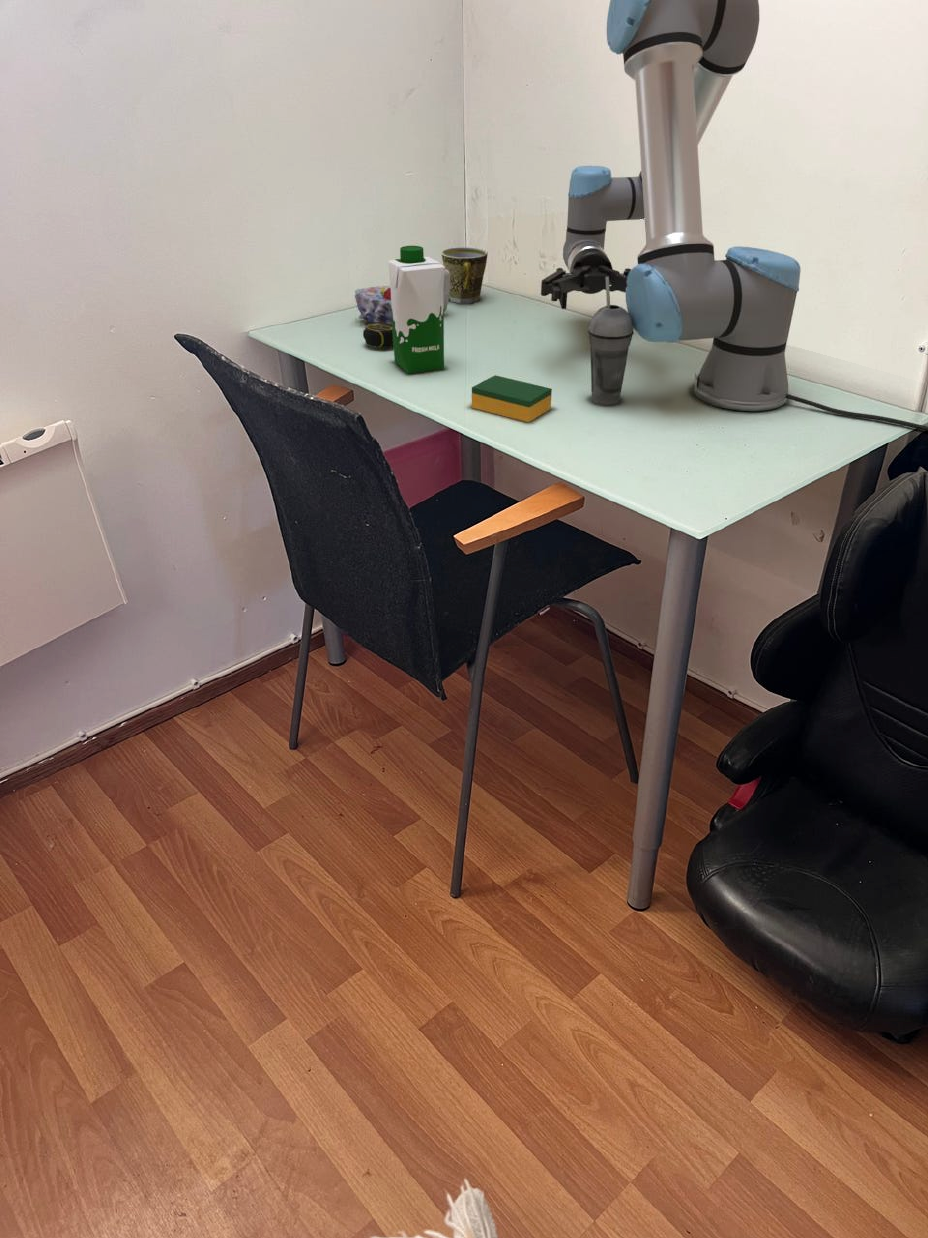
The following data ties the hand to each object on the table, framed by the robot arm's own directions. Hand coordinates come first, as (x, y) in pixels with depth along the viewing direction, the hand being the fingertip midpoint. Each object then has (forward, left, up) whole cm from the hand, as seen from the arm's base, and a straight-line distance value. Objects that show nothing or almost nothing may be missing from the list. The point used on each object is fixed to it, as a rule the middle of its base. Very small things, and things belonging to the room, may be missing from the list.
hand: (605, 300), depth 154 cm
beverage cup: (-4, +9, -14) cm, 17 cm away
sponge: (+9, +19, -14) cm, 25 cm away
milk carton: (+32, +7, -14) cm, 35 cm away
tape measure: (+44, -1, -14) cm, 46 cm away
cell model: (+48, -17, -14) cm, 53 cm away
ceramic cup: (+42, -35, -14) cm, 56 cm away
